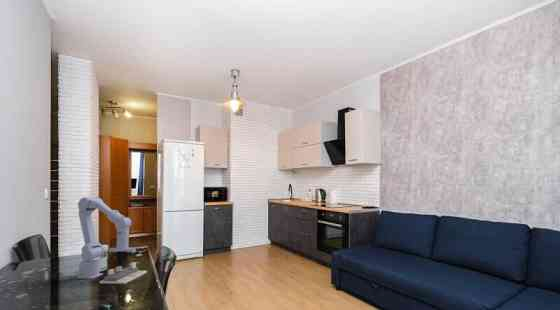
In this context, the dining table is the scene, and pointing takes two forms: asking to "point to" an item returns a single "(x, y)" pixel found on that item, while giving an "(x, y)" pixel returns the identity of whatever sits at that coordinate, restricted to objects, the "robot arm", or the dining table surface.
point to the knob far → (132, 265)
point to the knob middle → (118, 268)
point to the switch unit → (123, 276)
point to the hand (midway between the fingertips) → (121, 265)
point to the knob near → (111, 271)
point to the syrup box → (104, 258)
